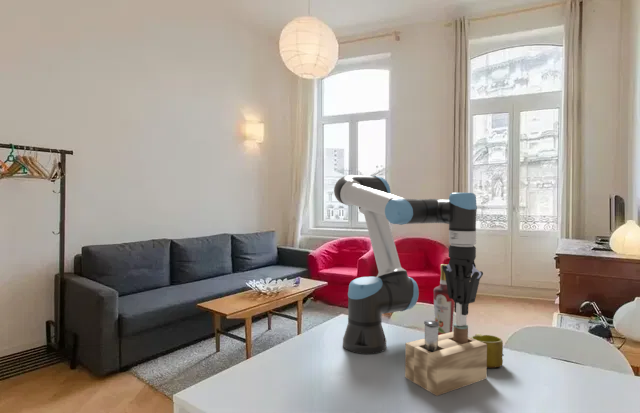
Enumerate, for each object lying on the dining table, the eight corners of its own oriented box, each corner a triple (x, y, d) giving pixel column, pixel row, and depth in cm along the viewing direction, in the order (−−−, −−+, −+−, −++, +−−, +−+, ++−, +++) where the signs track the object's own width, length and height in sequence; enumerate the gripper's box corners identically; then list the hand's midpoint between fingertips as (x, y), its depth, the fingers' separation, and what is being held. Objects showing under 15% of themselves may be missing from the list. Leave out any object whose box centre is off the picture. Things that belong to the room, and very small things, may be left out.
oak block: (405, 377, 112) (405, 343, 112) (453, 362, 122) (453, 331, 122) (436, 395, 101) (437, 358, 101) (486, 378, 111) (487, 344, 111)
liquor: (429, 342, 139) (431, 265, 138) (436, 337, 145) (437, 262, 144) (450, 347, 134) (451, 267, 134) (456, 341, 140) (457, 264, 140)
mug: (513, 367, 115) (501, 333, 117) (478, 374, 117) (467, 340, 119) (505, 359, 126) (494, 328, 129) (473, 365, 128) (463, 335, 131)
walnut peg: (450, 354, 115) (450, 324, 115) (459, 351, 117) (459, 322, 117) (461, 359, 112) (461, 328, 112) (470, 356, 114) (470, 326, 114)
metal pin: (420, 353, 109) (421, 321, 109) (430, 350, 111) (431, 319, 111) (431, 358, 106) (431, 325, 106) (441, 355, 108) (442, 323, 108)
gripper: (436, 243, 118) (435, 320, 118) (472, 248, 106) (471, 333, 107) (453, 242, 121) (452, 317, 122) (489, 246, 110) (488, 329, 110)
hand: (461, 324), depth 114 cm, fingers closed
